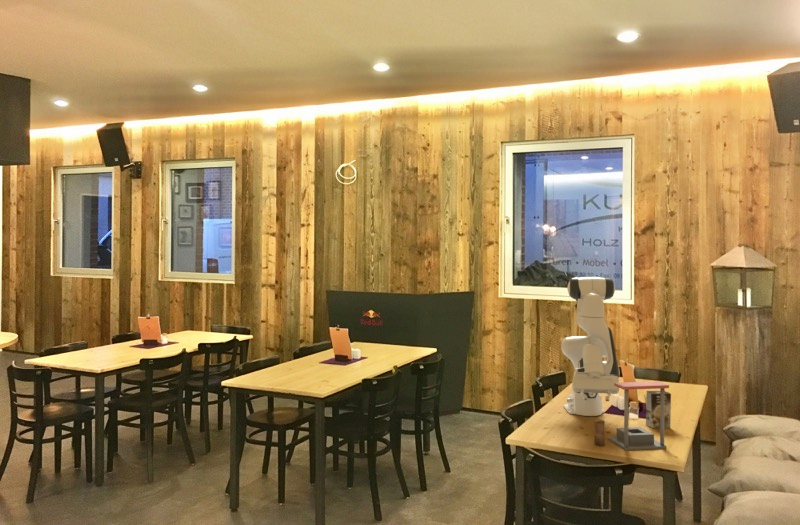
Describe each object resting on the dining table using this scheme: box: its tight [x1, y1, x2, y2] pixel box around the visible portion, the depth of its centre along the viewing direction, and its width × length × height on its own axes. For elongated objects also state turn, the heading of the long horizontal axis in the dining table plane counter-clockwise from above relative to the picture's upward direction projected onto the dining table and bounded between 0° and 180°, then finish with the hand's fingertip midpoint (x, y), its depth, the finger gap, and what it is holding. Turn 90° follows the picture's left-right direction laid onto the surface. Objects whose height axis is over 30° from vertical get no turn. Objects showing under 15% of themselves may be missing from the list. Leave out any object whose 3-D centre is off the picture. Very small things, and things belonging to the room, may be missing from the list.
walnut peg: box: [594, 419, 606, 447], centre depth 259 cm, size 4×4×10 cm
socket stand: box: [607, 380, 670, 451], centre depth 260 cm, size 16×20×26 cm
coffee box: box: [645, 390, 672, 429], centre depth 286 cm, size 9×6×16 cm
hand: (596, 400), depth 271 cm, fingers open, 8 cm apart
